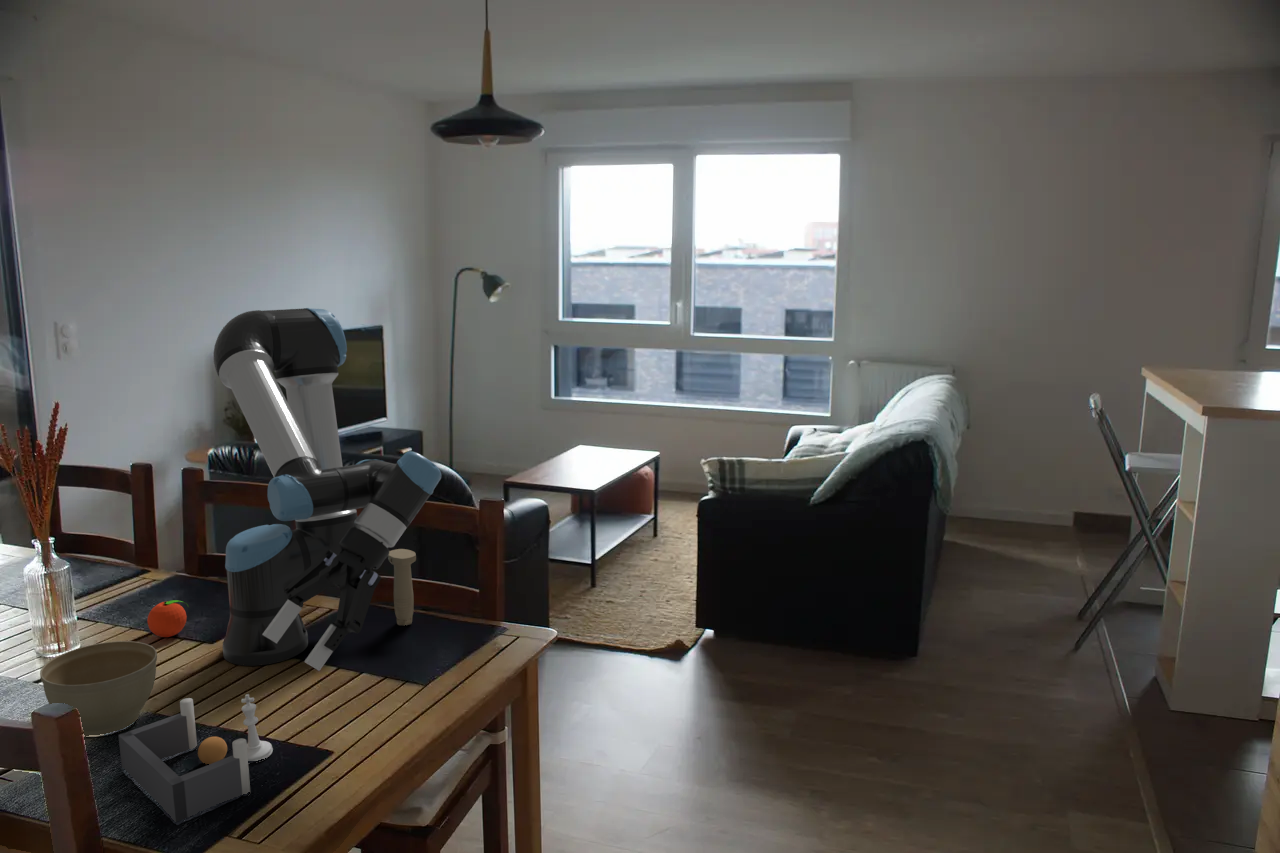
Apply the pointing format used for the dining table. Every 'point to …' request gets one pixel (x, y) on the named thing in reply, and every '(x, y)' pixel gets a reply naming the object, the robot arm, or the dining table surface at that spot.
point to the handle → (403, 584)
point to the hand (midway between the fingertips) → (289, 652)
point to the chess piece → (254, 733)
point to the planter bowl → (102, 683)
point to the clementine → (167, 618)
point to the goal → (190, 789)
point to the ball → (212, 750)
